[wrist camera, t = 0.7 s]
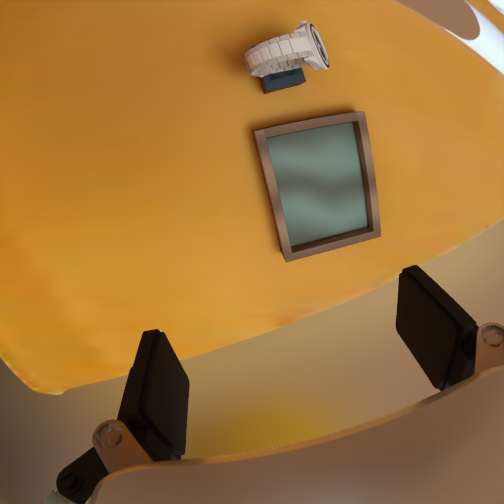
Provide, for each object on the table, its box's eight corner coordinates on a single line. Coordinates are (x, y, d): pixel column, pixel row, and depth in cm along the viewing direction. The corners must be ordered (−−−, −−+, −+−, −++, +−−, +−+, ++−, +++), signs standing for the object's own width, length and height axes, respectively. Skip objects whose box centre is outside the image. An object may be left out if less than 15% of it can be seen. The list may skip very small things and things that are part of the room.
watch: (314, 81, 31) (350, 65, 21) (249, 98, 31) (260, 86, 21) (299, 40, 28) (328, 10, 18) (234, 56, 29) (238, 27, 19)
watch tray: (252, 131, 33) (254, 131, 30) (354, 111, 32) (364, 111, 30) (281, 253, 39) (285, 262, 37) (371, 228, 39) (380, 236, 36)
